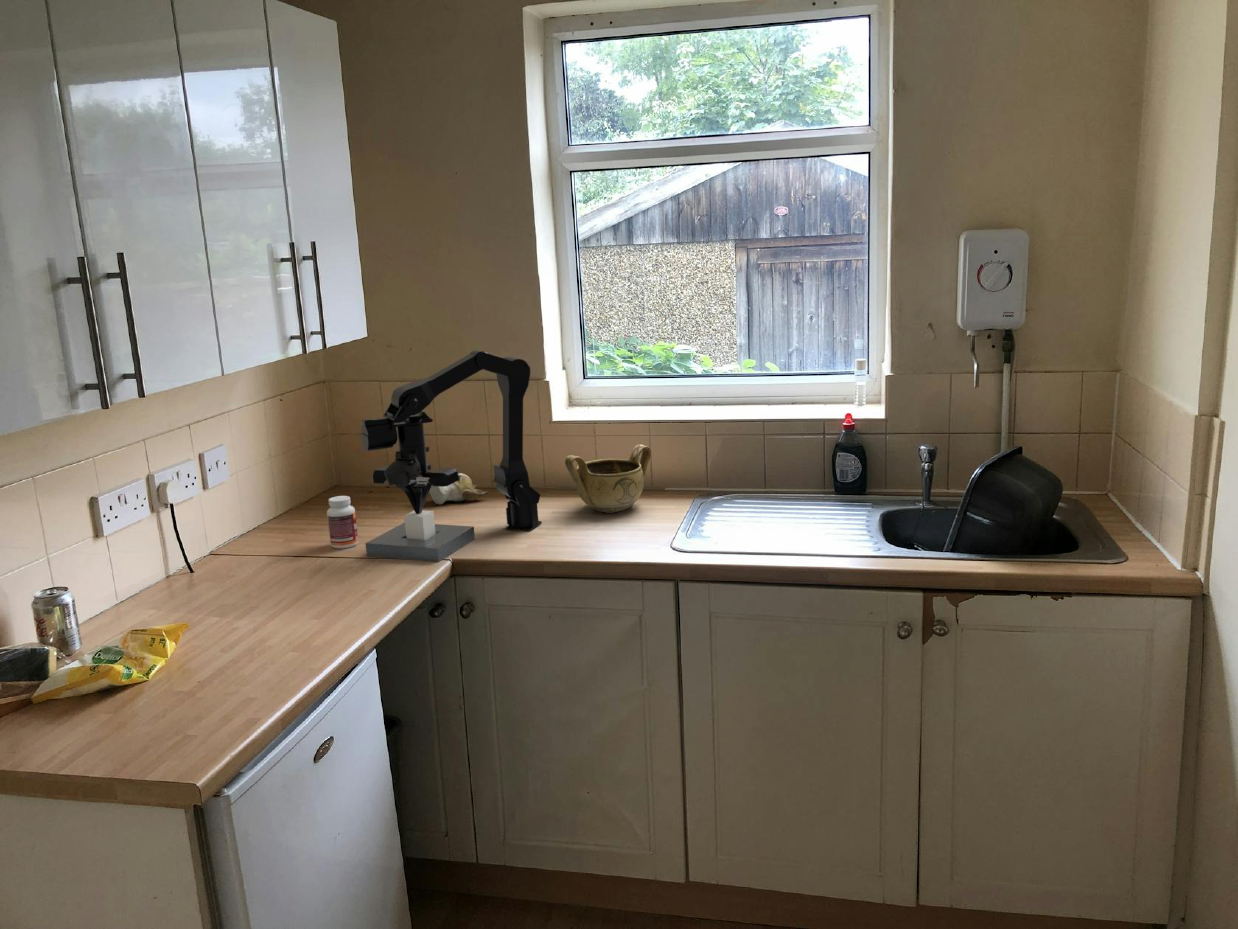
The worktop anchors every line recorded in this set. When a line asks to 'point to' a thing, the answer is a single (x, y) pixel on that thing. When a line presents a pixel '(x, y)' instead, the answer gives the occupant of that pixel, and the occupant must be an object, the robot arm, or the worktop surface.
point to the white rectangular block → (419, 525)
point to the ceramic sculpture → (456, 491)
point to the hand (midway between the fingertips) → (418, 513)
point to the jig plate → (420, 543)
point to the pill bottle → (342, 523)
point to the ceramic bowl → (610, 480)
